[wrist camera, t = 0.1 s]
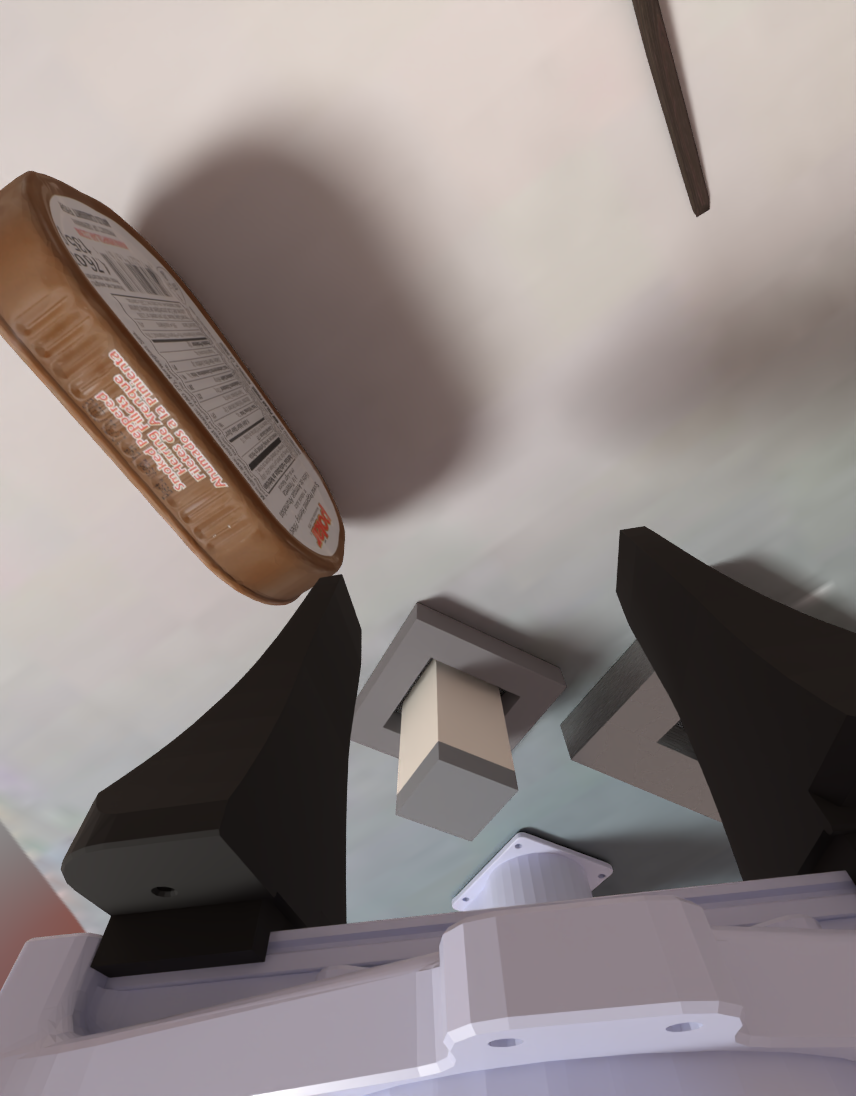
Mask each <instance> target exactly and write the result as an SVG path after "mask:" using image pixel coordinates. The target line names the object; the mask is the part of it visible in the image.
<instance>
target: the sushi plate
mask: <svg viewBox="0 0 856 1096" xmlns="http://www.w3.org/2000/svg"><path fill="white" fill-rule="evenodd" d="M632 2H633V6H634V10H635V14H636V17H637V21H638V25H639V29H640V33H641V37H642V40H643V44H644V48H645V52H646V56H647V59H648V62H649V66H650V69H651V73H652V76H653V80H654V83H655V86H656V90H657V93H658V96H659V100H660V103H661V107H662V110H663V113H664V117H665V120H666V123H667V127H668V130H669V133H670V137H671V140H672V143H673V147H674V150H675V153H676V157H677V160H678V164H679V167H680V170H681V174H682V177H683V180H684V183H685V187H686V190H687V193H688V196H689V200H690V203H691V206H692V209H693V212H694V213H695V215H696V217H698V216H699V215H701V214H703V213H704V212H706V211H708V210H709V197H708V193H707V189H706V185H705V181H704V177H703V173H702V169H701V165H700V161H699V157H698V153H697V149H696V145H695V141H694V137H693V133H692V129H691V126H690V122H689V118H688V114H687V110H686V106H685V103H684V99H683V95H682V91H681V87H680V83H679V80H678V76H677V72H676V68H675V64H674V60H673V56H672V53H671V49H670V45H669V41H668V37H667V33H666V30H665V26H664V22H663V18H662V14H661V10H660V7H659V3H658V0H632Z"/></svg>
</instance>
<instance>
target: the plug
mask: <svg viewBox="0 0 856 1096" xmlns="http://www.w3.org/2000/svg"><path fill="white" fill-rule="evenodd" d="M517 791H518V786H517V781H516V775H515V770H514V765H513V759H512V754H511V749H510V744H509V738H508V733H507V728H506V723H505V717H504V712H503V707H502V702H501V696H500V691H499V687H497V686H495V685H492V684H490V683H488V682H485V681H483V680H481V679H479V678H476V677H474V676H472V675H469V674H467V673H465V672H463V671H460V670H458V669H456V668H453V667H451V666H449V665H447V664H444V663H442V662H440V661H437V660H435V659H432V661H431V662H430V664H429V665H428V666H427V668H426V669H425V671H424V672H423V674H422V675H421V677H420V678H419V680H418V681H417V682H416V684H415V685H414V687H413V688H412V690H411V691H410V693H409V694H408V696H407V697H406V698H405V700H404V701H403V703H402V717H401V734H400V750H399V767H398V783H397V800H396V815H398V816H401V817H403V818H406V819H409V820H412V821H415V822H418V823H420V824H423V825H426V826H429V827H432V828H435V829H437V830H440V831H443V832H446V833H449V834H452V835H455V836H457V837H460V838H463V839H466V840H469V841H472V840H473V839H474V838H475V837H476V836H477V835H478V834H479V833H480V832H481V831H482V830H483V828H484V827H485V826H486V825H487V824H488V823H489V822H490V821H491V820H492V819H493V818H494V816H495V815H496V814H497V813H498V812H499V811H500V810H501V809H502V808H503V807H504V806H505V804H506V803H507V802H508V801H509V800H510V799H511V798H512V797H513V796H514V795H515V794H516V792H517Z"/></svg>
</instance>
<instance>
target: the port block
mask: <svg viewBox="0 0 856 1096" xmlns="http://www.w3.org/2000/svg"><path fill="white" fill-rule="evenodd" d="M679 720H680V717H679V715H678V713H677V711H676V709H675V707H674V705H673V703H672V701H671V699H670V697H669V695H668V694H667V692H666V690H665V688H664V687H663V685H662V683H661V681H660V679H659V678H658V676H657V674H656V672H655V671H654V669H653V667H652V665H651V664H650V662H649V660H648V658H647V657H646V655H645V653H644V651H643V649H642V648H641V646H640V644H639V642H638V640H636V641H635V642H634V643H633V644H632V645H631V647H630V648H629V649H628V650H627V651H626V652H625V653H624V654H623V655H622V657H621V658H620V659H619V660H618V661H617V662H616V663H615V664H614V665H613V667H612V668H611V669H610V670H609V671H608V672H607V673H606V674H605V676H604V677H603V678H602V679H601V680H600V681H599V682H598V683H597V684H596V686H595V687H594V688H593V689H592V690H591V691H590V692H589V693H588V694H587V696H586V697H585V698H584V699H583V700H582V701H581V702H580V703H579V705H578V706H577V707H576V708H575V709H574V710H573V711H572V712H571V713H570V715H569V716H568V717H567V718H566V719H565V720H564V721H563V722H562V723H561V725H560V726H561V729H562V732H563V736H564V739H565V742H566V745H567V748H568V751H569V755H570V758H571V760H573V761H575V762H578V763H580V764H583V765H585V766H587V767H590V768H592V769H595V770H597V771H599V772H602V773H604V774H607V775H609V776H611V777H614V778H616V779H619V780H621V781H623V782H626V783H628V784H631V785H633V786H635V787H638V788H640V789H643V790H645V791H647V792H650V793H652V794H655V795H657V796H659V797H662V798H664V799H667V800H669V801H672V802H674V803H676V804H679V805H681V806H684V807H686V808H688V809H691V810H693V811H696V812H698V813H700V814H703V815H705V816H708V817H710V818H712V819H715V820H717V821H720V822H722V821H721V818H720V815H719V813H718V810H717V807H716V805H715V802H714V800H713V797H712V794H711V792H710V789H709V787H708V784H707V782H706V779H705V777H704V774H703V772H702V769H701V767H700V764H699V762H698V760H697V757H696V755H695V752H694V750H693V747H692V745H691V743H690V740H689V738H688V736H687V733H686V731H685V730H684V729H682V728H680V727H678V726H675V724H676V723H677V722H678V721H679Z"/></svg>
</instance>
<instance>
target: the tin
mask: <svg viewBox="0 0 856 1096" xmlns="http://www.w3.org/2000/svg"><path fill="white" fill-rule="evenodd" d="M0 335H1V336H2V337H3V338H4V340H5V341H6V342H7V343H8V344H9V345H10V346H11V347H12V348H13V350H14V351H15V352H16V353H17V354H18V355H19V357H20V358H21V359H22V360H23V361H24V362H25V363H26V364H27V365H28V367H29V368H30V369H31V370H32V371H33V372H34V373H35V374H36V376H37V377H38V378H39V379H40V380H41V381H42V382H43V383H44V384H45V385H46V387H47V388H48V389H49V390H50V391H51V392H52V393H53V394H54V396H55V397H56V398H57V399H58V400H59V401H60V402H61V404H62V405H63V406H64V407H65V408H66V409H67V410H68V412H69V413H70V414H71V415H72V416H73V417H74V418H75V419H76V420H77V421H78V423H79V424H80V425H81V426H82V427H83V428H84V429H85V431H86V432H87V433H88V434H89V435H90V436H91V437H92V438H93V440H94V441H95V442H96V443H97V444H98V445H99V446H100V447H101V448H102V450H103V451H104V452H105V453H106V454H107V455H108V456H109V457H110V458H111V460H112V461H113V462H114V463H115V464H116V465H117V466H118V468H119V469H120V470H121V471H122V472H123V473H124V474H125V476H126V477H127V478H128V479H129V480H130V481H131V483H132V484H133V485H134V486H135V487H136V488H137V489H138V490H139V491H140V492H141V493H142V495H143V496H144V497H145V498H146V499H147V500H148V502H149V503H150V504H151V505H152V506H153V508H154V509H155V510H156V511H157V512H158V513H159V514H160V515H161V516H162V517H163V519H164V520H165V521H166V522H167V523H168V524H169V525H170V526H171V528H172V529H173V530H174V531H175V532H176V533H177V534H178V536H179V537H180V538H181V539H182V540H183V542H184V543H185V544H186V545H187V546H188V547H189V548H190V550H191V551H192V552H193V553H194V554H195V555H196V556H197V557H198V558H199V559H200V560H201V561H202V562H203V563H204V564H205V565H206V566H207V567H208V568H209V569H210V570H211V571H212V572H213V573H214V574H215V575H216V576H217V577H219V578H220V579H221V580H223V581H224V582H225V583H227V584H228V585H230V586H231V587H232V588H233V589H235V590H236V591H238V592H240V593H241V594H243V595H245V596H247V597H249V598H251V599H253V600H256V601H259V602H261V603H264V604H269V605H286V604H289V603H291V602H293V601H295V600H296V599H297V598H298V597H299V596H300V595H301V594H302V593H303V592H305V591H307V590H309V589H310V588H312V587H313V586H314V585H315V584H316V582H317V581H318V579H319V578H322V577H328V576H332V575H333V574H335V573H336V572H337V571H338V570H339V568H340V567H341V565H342V562H343V556H344V543H345V530H344V526H343V522H342V519H341V516H340V513H339V511H338V508H337V506H336V504H335V501H334V499H333V497H332V495H331V493H330V491H329V489H328V487H327V485H326V483H325V482H324V480H323V478H322V476H321V475H320V473H319V471H318V470H317V468H316V467H315V465H314V464H313V462H312V461H311V459H310V458H309V456H308V455H307V453H306V452H305V450H304V449H303V448H302V446H301V445H300V443H299V442H298V440H297V439H296V438H295V436H294V435H293V433H292V432H291V430H290V429H289V427H288V426H287V425H286V423H285V422H284V420H283V419H282V417H281V416H280V415H279V413H278V412H277V410H276V409H275V407H274V406H273V405H272V403H271V402H270V400H269V399H268V397H267V396H266V394H265V393H264V392H263V390H262V389H261V387H260V386H259V385H258V383H257V382H256V380H255V379H254V378H253V376H252V375H251V373H250V372H249V371H248V369H247V368H246V366H245V365H244V364H243V362H242V361H241V359H240V358H239V357H238V355H237V354H236V352H235V351H234V350H233V348H232V347H231V345H230V344H229V343H228V341H227V340H226V338H225V337H224V336H223V334H222V333H221V332H220V330H219V329H218V327H217V326H216V325H215V323H214V322H213V321H212V319H211V318H210V316H209V315H208V314H207V312H206V311H205V309H204V308H203V307H202V305H201V304H200V303H199V301H198V300H197V299H196V298H195V296H194V295H193V294H192V292H191V291H190V290H189V289H188V287H187V286H186V285H185V284H184V282H183V281H182V280H181V279H180V277H179V276H178V275H177V274H176V273H175V272H174V271H173V269H172V268H171V267H170V266H169V265H168V264H167V262H166V261H165V260H164V259H163V258H162V257H161V256H160V255H159V254H158V253H157V251H156V250H155V249H154V248H153V247H152V246H151V245H150V244H149V243H148V242H147V241H146V240H145V239H144V238H143V237H142V236H141V235H140V234H139V233H138V232H137V231H135V230H134V229H133V228H132V227H131V226H130V225H129V224H128V223H127V222H125V221H124V220H123V219H122V218H121V217H120V216H119V215H117V214H116V213H115V212H114V211H113V210H111V209H110V208H109V207H107V206H106V205H104V204H103V203H101V202H99V201H97V200H96V199H94V198H92V197H90V196H88V195H85V194H83V193H81V192H80V191H78V190H76V189H74V188H73V187H71V186H69V185H67V184H65V183H63V182H61V181H59V180H57V179H55V178H52V177H50V176H47V175H45V174H40V173H37V172H34V171H28V172H26V173H24V174H22V175H21V176H19V177H17V178H16V179H15V180H13V181H12V182H11V183H9V184H8V185H7V186H5V187H4V188H3V189H2V190H0Z"/></svg>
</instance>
